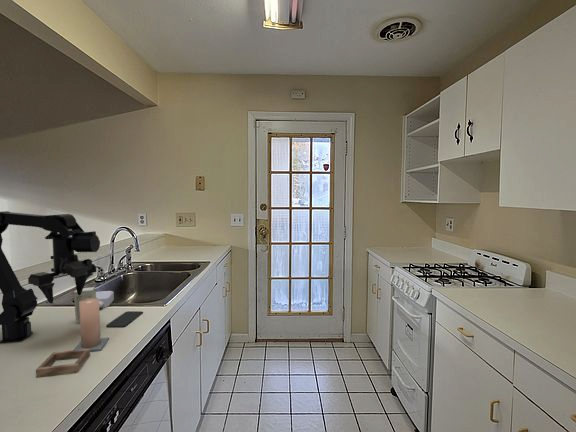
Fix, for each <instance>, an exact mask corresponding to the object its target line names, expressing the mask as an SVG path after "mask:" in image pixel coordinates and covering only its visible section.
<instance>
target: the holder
mask: <svg viewBox="0 0 576 432" xmlns="http://www.w3.org/2000/svg"><path fill="white" fill-rule="evenodd" d="M90 356H91V352H90V349H81V350H73V349H72V350H63V351H55V352H52V353H51V354H50V355H49V356H48V357H47V358H46V359H45V360H44V361H43V362H42V363H41V364H40V365H39V366H38V367H37V368H36V369H35V377H36V378H42V377H52V376H58V375H66V374H67V375H68V374H76V373H78V372H79V371H80V370H81V368H82V367H83V366H84V364H85V363H86V362H87V360H88V359H89V357H90ZM71 359H72V360H74V359H76V361H75V363H71V364H70V363H69V364H63V365H62V364H61V365H53V364H54V363H55V362H56V361H60V360H61V361H62V360H71Z"/></svg>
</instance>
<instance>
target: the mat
mask: <svg viewBox="0 0 576 432" xmlns="http://www.w3.org/2000/svg"><path fill="white" fill-rule="evenodd" d="M100 339H101V343H100V344H99V345H97V346H95V347H91V348H82V347H81V340H80V341H79V343H78V344H77V345H76V346H75V347H74V348H73V349H72V350H81V349H90V353H91V352H101V351H102V350H104V348H105V347H106V344H107V343H108V341H109V340H110V337H100Z"/></svg>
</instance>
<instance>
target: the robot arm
mask: <svg viewBox="0 0 576 432" xmlns="http://www.w3.org/2000/svg"><path fill="white" fill-rule="evenodd" d="M9 226H22V227H32V228H33V227H34V228H40V229H42V230H44V231H48V232H50V233H48V234H47V235H46V236H45V237H44V240H51V241H52V255H50V260H53V268H51V269H50V270H51V271H50V272H43V271H41V272H35V273H32V274H30V275H29V276H28V278H27V281H28V282H27V283H28V284H29V285H33V286H34V287H38V289H39V290H40V291H41V292H42V295H44V297H45V299H46V300H47V302H48V303H49V304H54V290H53V287H54V286H55V283H54V282H53V281H54V280H55V279H58V278H59V279H60V278H62V277H66V276H67V277H68V276H70V277H71V278H73V279H74V282H75V289H76V290H77V294H78V295H81V293H82V290H83V288H85V286H86V285H85V284H86V283H87V280H88V279H89V278H90V277H91V276H93V274H94V273H97V266H96V265H95V263H93V261H92V259H90V258H87V259H86V258H85V259H84V260H83V259H82V260H79V256H78V254H75V253H97V252H98V251H99V250H100V248H101V247H100V246H101V240H100V238H99V236H98V235H97V234H96V233H97V232H96V231H84V229H83V228H82V227H81V226H80V224H78V221H77V220H76V218H75V217H74V215H73V214H70V213H62V214H51V215H50V214H49V215H43V214H33V213H24V212H23V213H22V212H11V211H8V210H7V211H0V291H1V293H2V300H1V307H2V312H0V326H1V336H2V337H1V339H0V344H2V343H3V344H4V343H14V342H22V341H25V340H26V339H27V338H28V337H29V336H31V335H32V334H33V331H32V321H30V316H33V315H34V314H33V313H34V311H35V309H36V308H37V306H38V296H36V295H35V292H34V290H33V289H32V288H28V289H26V288H24V287H23V286H22V285H21V283H20V281H19V280H18V277H17V275H16V273H15V272H14V269H13V268H12V266H11V264H10V262H9V261H8V258H7V257H6V255H5V252H4V251H3V249H2V244H3V237H2V234H3V233H4V232H5V231H6V230H7V229H8V227H9Z"/></svg>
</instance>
